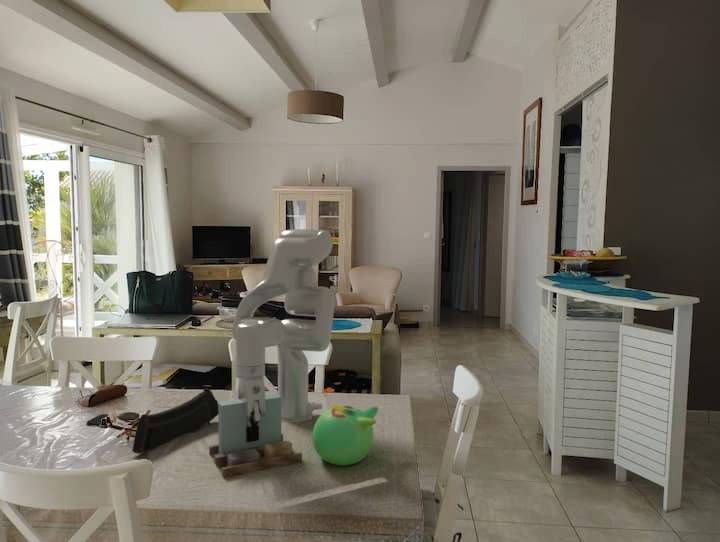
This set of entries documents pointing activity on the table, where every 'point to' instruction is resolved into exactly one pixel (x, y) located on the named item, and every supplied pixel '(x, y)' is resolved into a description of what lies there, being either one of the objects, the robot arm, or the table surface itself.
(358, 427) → the toy bird
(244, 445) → the panel
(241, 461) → the offcut
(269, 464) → the rack
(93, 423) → the phone
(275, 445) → the offcut
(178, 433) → the magazine
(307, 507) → the table surface
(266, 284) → the robot arm
